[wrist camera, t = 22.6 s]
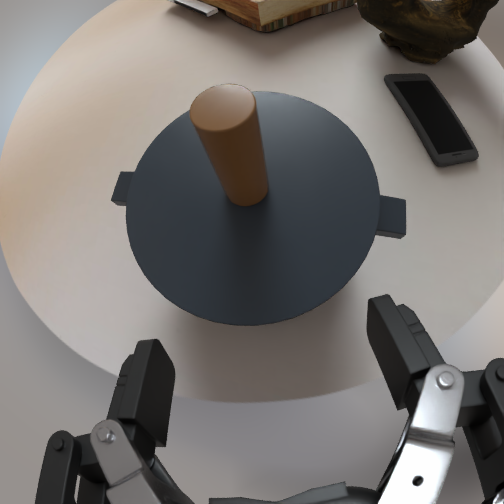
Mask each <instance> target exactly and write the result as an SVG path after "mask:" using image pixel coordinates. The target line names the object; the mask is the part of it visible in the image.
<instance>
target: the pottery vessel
mask: <svg viewBox="0 0 504 504" xmlns="http://www.w3.org/2000/svg"><path fill="white" fill-rule="evenodd" d="M356 1H357V6H358V10H359V12H360V14H361V17H362V18H363V19H364V20H366V21H367V22H369V23H370V24H372V25H373V26H374V27H376V28H377V29H379V30H380V31H382V33H380V34H379V35H380V37H381V39H385V41H386V44H387V45H388V46H398V47H400V48H401V49H402V52H401V53H403V54H404V55H406V56H407V58H408V59H409V60H411V61H416V62H421V63H423V62H426V63H431V64H436V63H437V62H438V61H439V60H441V59H442V58H444V57H446V56H447V55H448V54H450V53H452V52H453V51H454V49H461V48H464V45H465V44H468V43H470V42H472V41H474V40H475V39H476V38H477V37H476V36H477V34H478V31H479V28H480V26H481V25H482V23H483V21H484V20H485V18H486V15H487V12H488V11H489V10H490V9H491V8H492V7H494V6H495V5H496V4H497V3H498V1H499V0H442V1H431V0H356Z"/></svg>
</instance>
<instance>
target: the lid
mask: <svg viewBox="0 0 504 504" xmlns="http://www.w3.org/2000/svg"><path fill="white" fill-rule="evenodd" d="M379 214H380V192H379V186H378V180H377V176H376V173H375V170H374V167H373V163H372V161H371V159H370V157H369V155H368V153H367V151H366V149H365V148H364V146H363V145H362V143H361V142H360V140H359V139H358V137H357V136H356V135H355V134H354V133H353V132H352V131H351V130H350V128H349V127H348V126H347V125H345V124H344V123H343V122H342V121H341V120H340V119H339V118H337V117H336V116H335V115H333V114H332V113H330V112H329V111H327V110H326V109H324V108H322V107H320V106H318V105H316V104H314V103H312V102H310V101H307V100H304V99H302V98H299V97H295V96H291V95H287V94H282V93H275V92H258V91H256V92H251V91H250V90H248V89H247V88H245V87H243V86H240V85H236V84H221V85H217V86H214V87H211V88H209V89H207V90H205V91H203V92H202V93H201V94H199V95H198V96H197V97H196V99H195V100H194V101H193V103H192V105H191V107H190V110H189V111H187V112H186V113H184V114H183V115H181V116H180V117H178V118H177V119H175V120H174V121H173V122H172V123H171V124H169V125H168V126H167V127H166V128H165V129H164V130H163V131H162V132H161V133H160V134H159V135H158V136H157V137H156V138H155V139H154V141H153V142H152V143H151V144H150V146H149V147H148V148H147V150H146V151H145V153H144V155H143V156H142V158H141V160H140V161H139V163H138V166H137V168H136V170H135V172H134V174H133V177H132V181H131V184H130V187H129V191H128V197H127V203H126V224H127V233H128V237H129V242H130V246H131V249H132V251H133V254H134V256H135V259H136V261H137V263H138V265H139V266H140V268H141V270H142V272H143V273H144V275H145V276H146V277H147V279H148V280H149V281H150V283H151V284H152V285H153V286H154V287H155V288H156V289H157V290H158V291H159V292H160V293H161V294H162V295H163V296H164V297H165V298H166V299H168V300H169V301H171V302H172V303H174V304H175V305H176V306H178V307H179V308H181V309H183V310H185V311H187V312H189V313H191V314H193V315H195V316H197V317H200V318H203V319H207V320H210V321H213V322H217V323H223V324H229V325H244V326H256V325H264V324H272V323H277V322H281V321H284V320H288V319H292V318H294V317H297V316H299V315H301V314H304V313H306V312H308V311H311V310H312V309H314V308H316V307H317V306H319V305H321V304H322V303H324V302H325V301H327V300H328V299H330V298H331V297H332V296H333V295H334V294H336V293H337V292H338V291H339V290H340V289H342V288H343V287H344V286H345V285H346V284H347V282H348V281H349V280H350V279H351V278H352V277H353V276H354V275H355V273H356V272H357V271H358V269H359V268H360V266H361V265H362V263H363V261H364V260H365V258H366V256H367V254H368V252H369V250H370V248H371V246H372V244H373V241H374V237H375V234H376V231H377V227H378V221H379Z"/></svg>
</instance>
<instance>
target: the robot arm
mask: <svg viewBox="0 0 504 504" xmlns="http://www.w3.org/2000/svg"><path fill="white" fill-rule="evenodd" d="M367 336H368V340H369V343H370V345H371V347H372V350H373V352H374V354H375V356H376V359H377V361H378V363H379V366H380V368H381V371H382V373H383V375H384V378H385V380H386V383H387V385H388V388H389V390H390V392H391V395H392V398H393V400H394V402H395V405H396V408H397V410H401V409H404V408H407V410H408V413H409V417H408V419H407V422H406V425H405V427H404V430H403V433H402V435H401V438H400V441H399V443H398V445H397V448H396V450H395V453H394V455H393V457H392V460H391V461H390V463H389V465H388V467H387V469H386V471H385V473H384V475H383V477H382V479H381V481H380V483H379V485H378V487H377V489H376V491H375V490H372V489H368V488H363V487H353V486H351V487H350V486H348V487H346V483H345V482H341V483H337V484H332V485H328V486H323V487H318V488H313V489H310V490H307V491H305V492H302V493H300V494H297V495H295V496H292V497H289V498H287V499H284V500H281V501H277V502H271V501H263V500H255V499H249V498H242V497H236V498H209V504H435V503H436V501H437V498H438V496H439V493H440V491H441V488H442V485H443V483H444V480H445V477H446V474H447V471H448V468H449V465H450V462H451V459H452V456H453V452H454V447H455V442H454V441H453V434H454V431H455V427H461V426H462V427H463V430H464V433H465V436H466V439H467V441H468V444H469V447H470V450H471V453H472V456H473V459H474V462H475V465H476V469H477V472H478V475H479V479H480V482H481V486H482V489H483V493H484V497H485V500H484V501H483V502H482V504H504V358H496V359H494V360H492V361H491V362H489V364H488V365H487V367H486V369H485V370H477V371H468V372H462V371H460V370H458V369H457V368H456V367H454V366H452V365H449V364H446V363H445V362H444V360H443V358H442V356H441V355H440V353H439V351H438V349H437V348H436V346H435V344H434V343H433V341H432V339H431V338H430V336H429V335H428V333H427V332H426V331H425V328H424V327H423V325H422V323H420V320H419V319H418V317H417V316H416V314H415V313H414V311H413V310H411V309H410V308H408V307H407V306H405V305H404V304H401V305H398V306H396V305H395V303H394V301H393V300H392V298H391V297H390V295H388V294H385V295H382V296H378V297H374V298H370V299H369V300H368V311H367ZM174 383H175V368H174V365H173V363H172V361H171V359H170V358H169V356H168V354H167V353H166V351H165V349H164V348H163V346H162V344H161V343H160V341H159V340H158V339H150V340H141V341H138V343H137V345H136V348H135V352H134V354H132V355H129V356H128V358H127V359H126V360H125V362H124V363H123V364H122V367H121V370H120V374H119V378H118V380H117V386H116V387H115V390H114V394H113V397H112V401H111V405H110V408H109V412H108V416H107V419H106V420H103V421H101V422H99V423H98V424H97V425H96V426H95V427H94V428H93V430H92V432H91V433H90V434H85V435H81V436H77V437H74V436H72V435H71V434H70V433H68V432H67V431H64V430H61V431H57V432H56V433H54V434H53V435H52V436H51V437H50V439H49V441H48V444H47V447H46V452H45V456H44V460H43V464H42V469H41V473H40V478H39V483H38V488H37V494H36V500H35V504H76V502H75V499H74V494H75V487H76V480H77V475H79V476H81V477H80V484H79V491H78V498H77V504H194V502H192V500H191V499H190V498H189V497H188V496H186V495H185V494H184V493H183V492H182V491H181V490H180V489H179V487H178V486H177V485H176V483H175V482H174V481H173V479H172V478H171V476H170V475H169V474H168V472H167V471H166V469H165V468H164V466H163V465H162V464H161V462H160V460H159V459H158V457H157V456H156V455H155V447H166V441H167V433H168V425H169V417H170V410H171V403H172V396H173V389H174Z"/></svg>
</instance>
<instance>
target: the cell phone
mask: <svg viewBox="0 0 504 504" xmlns="http://www.w3.org/2000/svg"><path fill="white" fill-rule="evenodd" d="M384 81H385V83H386V84H387V86H388V87H389V89H390V90H391V92H392V93H393V95H394V96H395V98H396V99H397V101H398V102H399V104H400V105H401V107H402V108H403V110H404V111H405V113H406V115H407V116H408V118H409V119H410V121H411V123H412V124H413V126H414V128H415V130H416V131H417V133H418V135H419V136H420V138H421V140H422V142H423V144H424V145H425V147H426V149H427V151H428V153H429V155H430V157H431V158H432V160H433V162H434V163H435V164H436V165H437V166H447V165H452V164H458V163H463V162H468V161H474V160H476V159H477V158H478V157H479V154H478V151H477V149H476V147H475V145H474V143H473V142H472V140H471V138H470V137H469V135H468V133H467V131H466V130H465V128H464V127H463V125H462V123H461V122H460V120H459V119H458V117H457V115H456V114H455V112H454V111H453V109H452V108H451V106H450V105H449V104H448V102H447V101H446V99H445V98H444V96H443V95H442V94H441V92H440V91H439V89H438V88H437V87H436V85H435V84H434V83H433V81H432V80H431V79H430V78H429V76H428V75H426V74H420V73H418V74H389V75H386V76H385V77H384Z"/></svg>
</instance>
